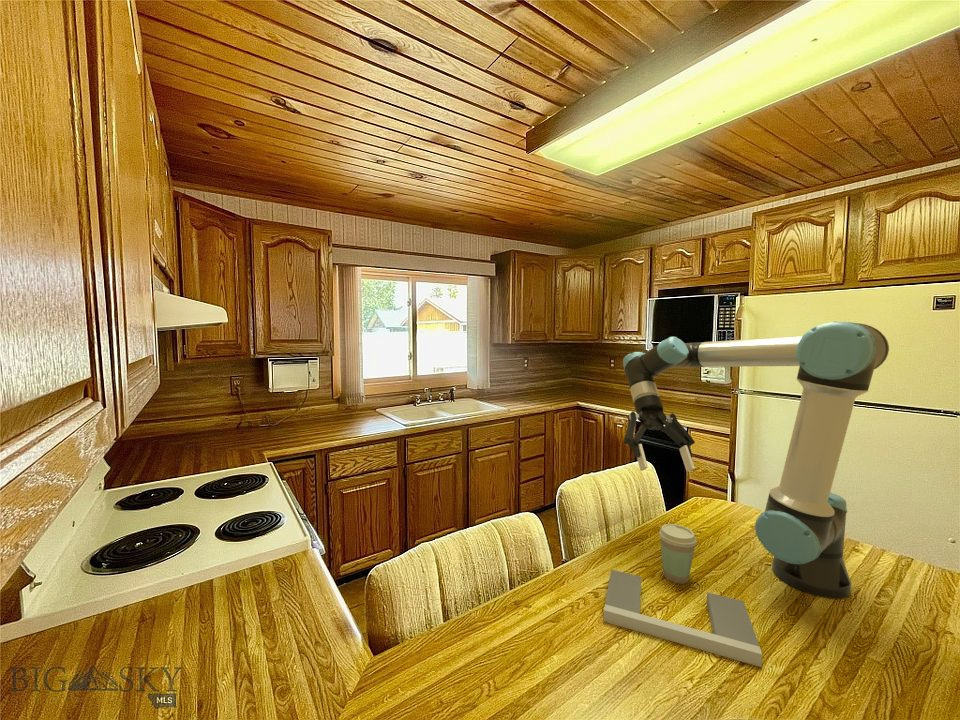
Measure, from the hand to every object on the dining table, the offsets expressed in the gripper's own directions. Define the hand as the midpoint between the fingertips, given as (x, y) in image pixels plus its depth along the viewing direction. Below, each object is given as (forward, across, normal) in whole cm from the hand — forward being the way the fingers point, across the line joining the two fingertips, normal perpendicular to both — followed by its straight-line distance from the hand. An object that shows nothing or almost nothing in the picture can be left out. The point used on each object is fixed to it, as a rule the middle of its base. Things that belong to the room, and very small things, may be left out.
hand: (667, 469), depth 105 cm
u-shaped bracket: (+32, +8, -1) cm, 33 cm away
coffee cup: (+24, 0, -10) cm, 26 cm away
